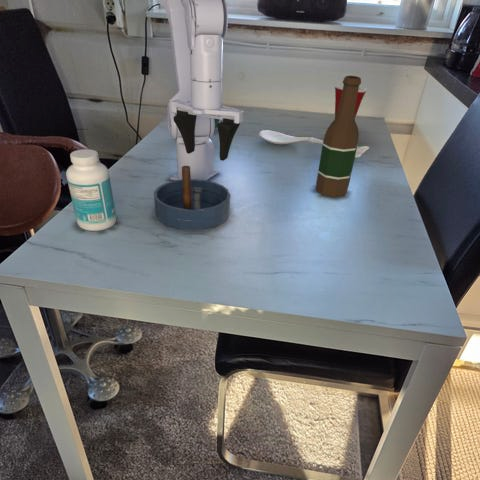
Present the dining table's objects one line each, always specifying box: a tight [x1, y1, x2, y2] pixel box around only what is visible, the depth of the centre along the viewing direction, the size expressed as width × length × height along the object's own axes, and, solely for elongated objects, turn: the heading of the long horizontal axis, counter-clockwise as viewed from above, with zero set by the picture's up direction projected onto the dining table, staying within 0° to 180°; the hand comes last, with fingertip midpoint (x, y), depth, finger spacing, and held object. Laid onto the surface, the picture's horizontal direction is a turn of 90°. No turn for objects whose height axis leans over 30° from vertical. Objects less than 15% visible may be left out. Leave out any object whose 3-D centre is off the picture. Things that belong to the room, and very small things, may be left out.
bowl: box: [153, 179, 232, 231], centre depth 87 cm, size 15×15×4 cm
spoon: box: [258, 129, 370, 159], centre depth 122 cm, size 9×32×4 cm, turn 60°
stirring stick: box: [182, 166, 192, 209], centre depth 83 cm, size 2×2×10 cm
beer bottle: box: [315, 75, 362, 199], centre depth 93 cm, size 8×8×24 cm
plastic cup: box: [334, 84, 368, 118], centre depth 142 cm, size 11×11×12 cm
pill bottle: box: [65, 148, 117, 232], centre depth 79 cm, size 8×7×14 cm
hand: (206, 155), depth 86 cm, fingers open, 7 cm apart
